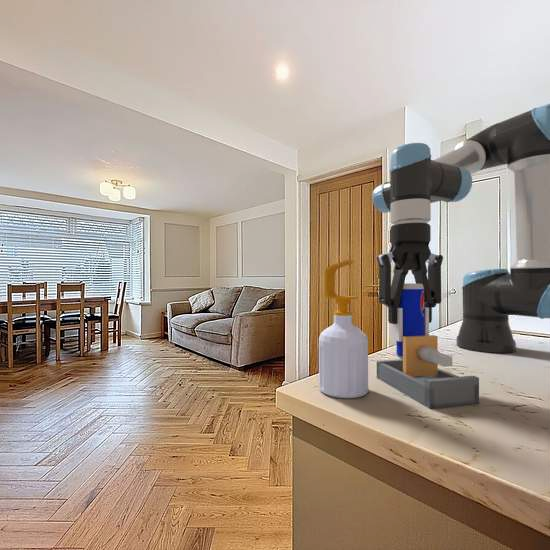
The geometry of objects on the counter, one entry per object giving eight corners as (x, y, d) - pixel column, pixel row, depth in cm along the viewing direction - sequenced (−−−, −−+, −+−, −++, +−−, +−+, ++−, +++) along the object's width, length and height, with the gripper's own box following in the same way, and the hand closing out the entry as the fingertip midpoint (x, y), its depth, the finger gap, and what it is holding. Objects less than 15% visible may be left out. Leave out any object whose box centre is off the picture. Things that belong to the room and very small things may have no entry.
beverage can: (426, 362, 64) (426, 284, 64) (398, 360, 65) (398, 284, 65) (421, 355, 69) (421, 283, 69) (394, 354, 70) (394, 283, 70)
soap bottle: (359, 403, 57) (358, 258, 57) (310, 393, 62) (310, 260, 62) (374, 388, 64) (373, 260, 64) (329, 380, 69) (329, 261, 69)
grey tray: (416, 374, 73) (416, 354, 73) (479, 403, 56) (479, 377, 56) (376, 377, 71) (376, 356, 71) (429, 408, 54) (429, 381, 54)
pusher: (434, 373, 65) (434, 335, 65) (465, 386, 57) (465, 343, 57) (402, 375, 64) (402, 336, 64) (430, 389, 56) (430, 344, 56)
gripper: (437, 228, 73) (437, 334, 73) (359, 225, 69) (359, 337, 69) (463, 222, 65) (463, 341, 65) (378, 219, 62) (378, 345, 62)
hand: (410, 339), depth 67 cm, fingers closed on beverage can, 5 cm apart
